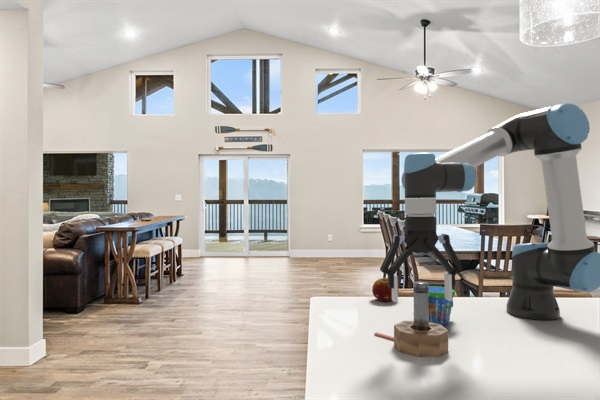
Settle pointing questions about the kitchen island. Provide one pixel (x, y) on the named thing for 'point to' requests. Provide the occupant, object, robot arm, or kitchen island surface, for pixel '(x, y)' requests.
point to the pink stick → (384, 336)
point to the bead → (421, 339)
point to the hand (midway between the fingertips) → (421, 300)
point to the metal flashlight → (421, 306)
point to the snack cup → (439, 305)
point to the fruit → (382, 290)
